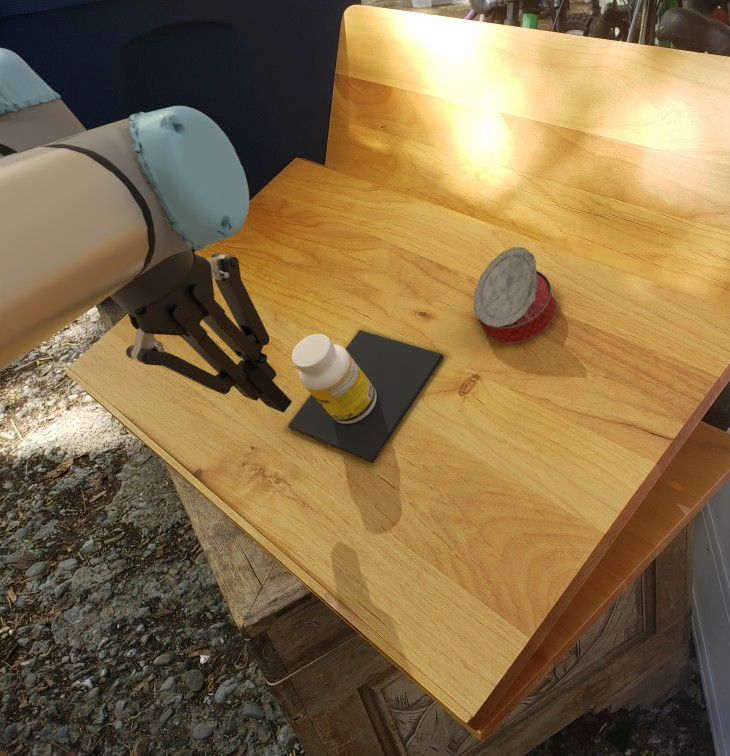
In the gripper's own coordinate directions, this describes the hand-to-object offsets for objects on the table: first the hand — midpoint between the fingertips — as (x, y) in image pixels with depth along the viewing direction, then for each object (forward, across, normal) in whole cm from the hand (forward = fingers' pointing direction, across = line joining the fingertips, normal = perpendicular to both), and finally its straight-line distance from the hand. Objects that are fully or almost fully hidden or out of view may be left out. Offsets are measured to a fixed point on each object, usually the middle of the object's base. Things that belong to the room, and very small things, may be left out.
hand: (279, 403), depth 73 cm
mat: (+10, -9, 0) cm, 13 cm away
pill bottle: (+10, -7, 0) cm, 12 cm away
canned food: (+10, -26, +13) cm, 31 cm away
